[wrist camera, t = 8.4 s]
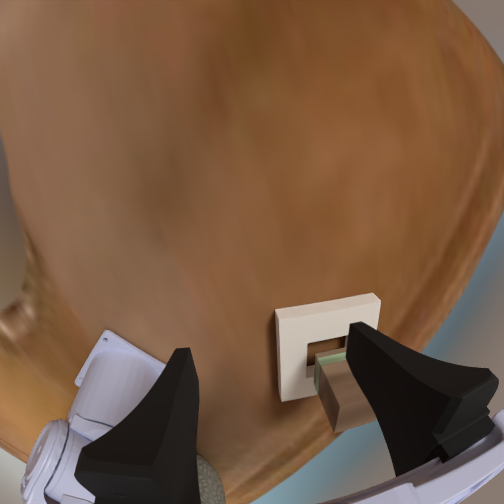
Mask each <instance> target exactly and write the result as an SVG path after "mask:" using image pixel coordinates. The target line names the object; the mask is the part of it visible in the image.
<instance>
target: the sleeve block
mask: <svg viewBox="0 0 504 504" xmlns="http://www.w3.org/2000/svg"><path fill="white" fill-rule="evenodd" d="M380 305H381V300H380V299H379V298H378V297H377V296H376V295H375V294H374V293H369V294H363V295H358V296H353V297H348V298H342V299H336V300H331V301H325V302H319V303H313V304H307V305H301V306H294V307H288V308H281V309H275V320H276V341H277V364H278V390H279V394H280V398H281V402H283V401H289V400H294V399H299V398H304V397H309V396H314V395H318V394H317V392H316V389H315V385H314V368H315V365H311V366H307V343H311V342H317V341H322V340H327V339H332V338H336V337H341V336H346V338H345V347H347V341H348V333H349V324H350V323H355V322H360V321H362V322H364V323H366V324H367V325H369V326H371V327H373V328H374V329H376V330H377V324H378V318H379V312H380ZM345 347H344V348H345Z"/></svg>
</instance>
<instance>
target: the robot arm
mask: <svg viewBox="0 0 504 504" xmlns="http://www.w3.org/2000/svg"><path fill="white" fill-rule="evenodd" d="M104 338H107V339H108V340H106V339H104ZM345 357H346V360H347V363H348V365H349V368H350V370H351V372H352V375H353V376H354V378H355V380H356V382H357V383H358V385H359V387H360V388H361V390H362V392H363V394H364V395H365V397H366V399H367V400H368V402H369V404H370V406H371V407H372V409H373V411H374V413H375V415H376V418H377V420H378V422H379V425H380V427H381V430H382V432H383V435H384V438H385V441H386V443H387V446H388V449H389V453H390V456H391V459H392V463H393V467H394V470H395V475H396V478H393V479H391V480H389V481H386V482H384V483H381V484H379V485H376V486H373V487H370V488H368V489H365V490H362V491H359V492H356V493H353V494H350V495H347V496H344V497H340V498H337V499H334V500H330V501H326V502H322V503H318V504H458V503H460V502H461V501H462V500H464V499H465V498H467V497H468V496H470V495H471V494H472V493H474V492H475V491H476V490H478V489H479V488H480V487H481V486H483V485H484V484H485V483H487V482H488V481H489V480H491V479H492V478H493V477H494V476H495V475H496V474H498V473H499V472H500V471H501V470H503V469H504V408H503V409H502V410H500V411H499V412H498V413H497V414H495V415H494V416H493V417H492V418H491V419H490V417H489V416H488V414H489V413H490V410H489V409H488V408H487V405H488V404H489V402H490V400H491V399H492V397H493V395H494V394H495V392H496V390H497V388H498V384H499V379H498V378H497V377H496V376H495V375H494V374H493V373H492V372H491V371H490V370H489V369H488V368H477V367H467V366H461V365H456V364H452V363H447V362H444V361H440V360H437V359H434V358H431V357H428V356H426V355H423V354H421V353H418V352H416V351H414V350H412V349H410V348H408V347H406V346H404V345H402V344H400V343H398V342H396V341H394V340H393V339H391V338H389V337H388V336H386V335H384V334H382V333H381V332H379V331H378V330H376V329H374V328H373V327H371V326H369V325H367V324H366V323H364V322H362V321H360V322H355V323H350V324H349V333H348V341H347V349H346V356H345ZM75 384H76V385H77V386H78V387H80V388H79V390H78V392H77V395H76V397H75V400H74V402H73V404H72V407H71V409H70V412H69V414H68V417H67V419H66V422H65V421H63V420H62V419H57V420H53V421H49V422H48V423H47V424H46V426H45V427H44V429H43V430H42V432H41V433H40V435H39V437H38V439H37V441H36V443H35V445H34V447H33V449H32V451H31V454H30V456H29V459H28V462H27V466H26V470H25V474H24V477H23V479H22V482H21V488H20V489H21V490H20V491H21V495H22V501H23V504H201V498H200V490H199V481H198V469H197V454H196V437H197V424H198V411H199V380H198V376H197V373H196V369H195V365H194V362H193V358H192V354H191V350H190V347H189V348H177V349H175V351H174V352H173V354H172V356H171V358H170V359H169V361H168V363H167V365H165V364H163V363H162V362H160V361H158V360H156V359H155V358H153V357H151V356H150V355H148V354H146V353H145V352H143V351H141V350H140V349H138V348H136V347H135V346H133V345H131V344H130V343H128V342H127V341H125V340H124V339H122V338H120V337H119V336H117V335H116V334H114V333H113V332H111V331H109V330H105V331H104V332H103V334H102V335H101V337H100V339H99V340H98V342H97V343H96V345H95V347H94V348H93V350H92V352H91V353H90V355H89V357H88V359H87V360H86V362H85V364H84V365H83V367H82V369H81V371H80V372H79V374H78V376H77V378H76V380H75Z"/></svg>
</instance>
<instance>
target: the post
mask: <svg viewBox="0 0 504 504" xmlns="http://www.w3.org/2000/svg"><path fill="white" fill-rule="evenodd" d="M346 349H347V347H345V348H340V349H336V350H331V351H326V352H321V353H317V354H315V368H314V385H315V389H316V392H317V394H318V395H319V397H320V399H321V402H322V404H323V407H324V409H325V412H326V414H327V417H328V419H329V421H330V424H331V426H332V429H333V431H334V433H336V432H340V431H344V430H347V429H350V428H354V427H357V426H360V425H364V424H367V423H369V422H373V421H375V420H376V415H375V413H374V411H373V409H372V407H371V406H370V404H369V402H368V400H367V399H366V397H365V395H364V394H363V392H362V390H361V388H360V387H359V385H358V383H357V382H356V380H355V378H354V376H353V375H352V372H351V370H350V368H349V365H348V363H347V360H346V357H345V356H346Z"/></svg>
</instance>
